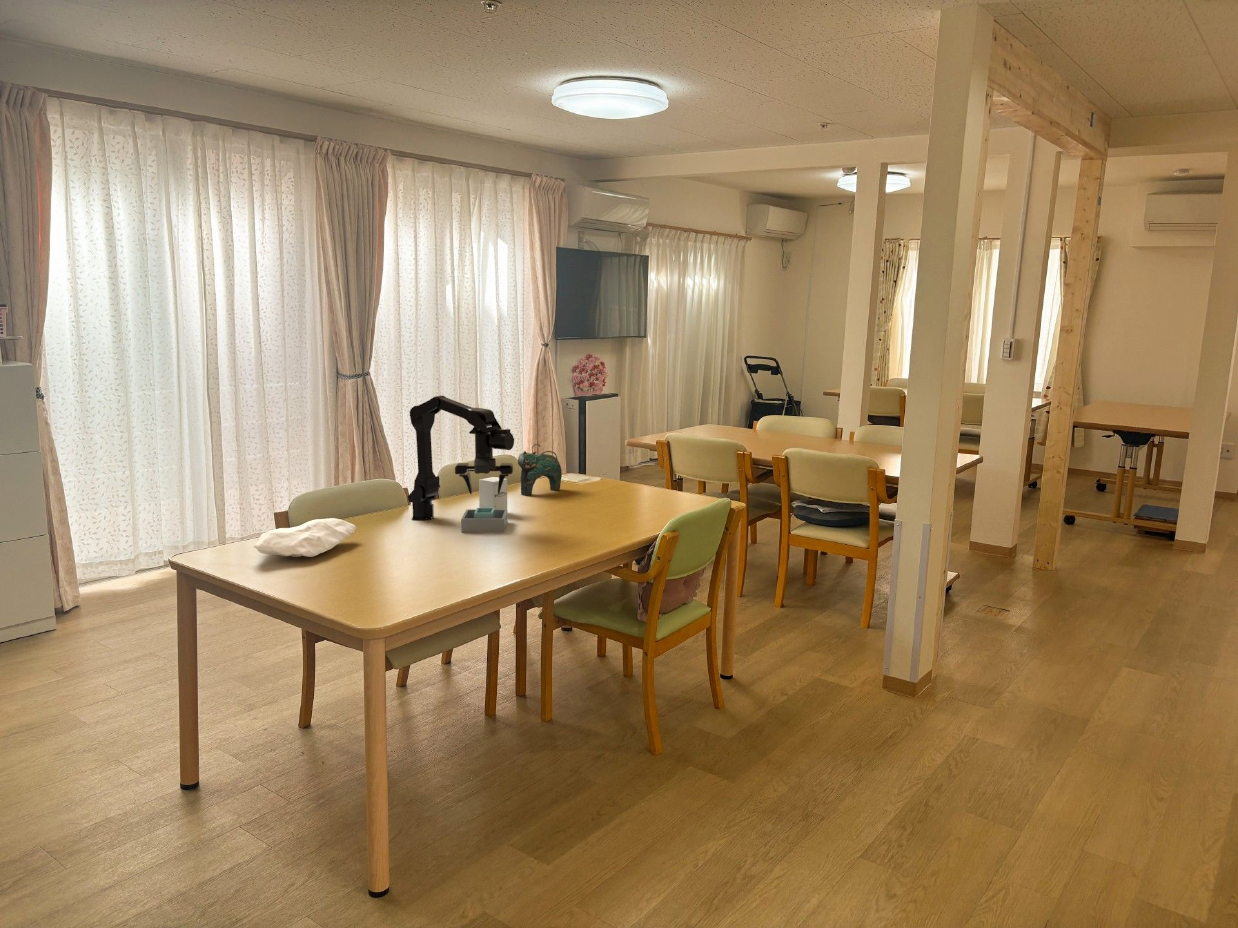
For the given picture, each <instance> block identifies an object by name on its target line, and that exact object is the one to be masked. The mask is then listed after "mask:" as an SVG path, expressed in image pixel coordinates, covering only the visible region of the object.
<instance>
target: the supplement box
mask: <svg viewBox="0 0 1238 928" xmlns="http://www.w3.org/2000/svg"><path fill="white" fill-rule="evenodd" d="M498 484H499V477H496V476H492V477H486V478H481V479H478V495H479V497H478V502H479V504H478V506H479V507H478V508H495V509H507V510H508V478H504V480H503V483H502V486H501V490H500V493H499V494H498Z"/></svg>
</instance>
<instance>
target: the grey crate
mask: <svg viewBox="0 0 1238 928" xmlns="http://www.w3.org/2000/svg"><path fill="white" fill-rule="evenodd" d="M476 509H477V508H475V509H471V508H469V509H466V510H465V511H464V513H463V515H462V517H461V519H460V523H461V524H460V528H461V533H505V531H506V529H507V524H508V520H509V519H508V508H507V509H495V518H487V519H474V513H475V511H476Z"/></svg>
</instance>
